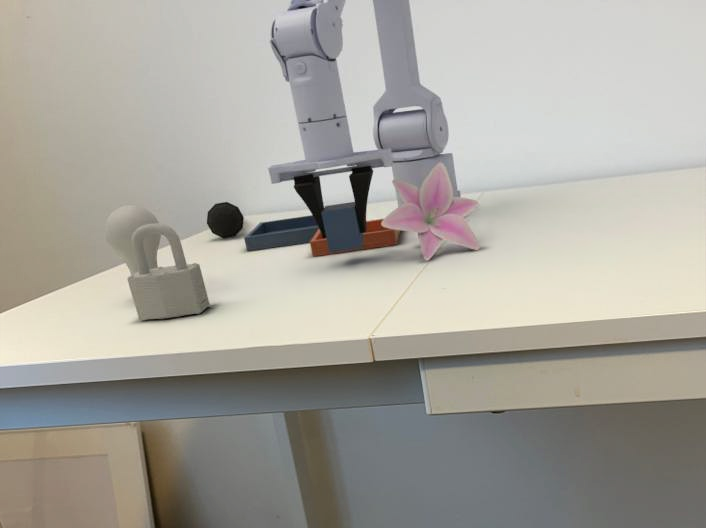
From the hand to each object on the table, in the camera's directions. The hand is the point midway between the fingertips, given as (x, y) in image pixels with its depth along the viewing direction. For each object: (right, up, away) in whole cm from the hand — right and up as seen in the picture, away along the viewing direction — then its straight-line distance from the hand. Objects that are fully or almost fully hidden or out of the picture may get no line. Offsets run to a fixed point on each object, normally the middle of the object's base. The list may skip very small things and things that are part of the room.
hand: (344, 233), depth 99 cm
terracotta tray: (0, +1, +12) cm, 11 cm away
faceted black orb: (-23, +6, +36) cm, 44 cm away
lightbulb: (-23, -8, -1) cm, 24 cm away
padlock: (-17, -11, -11) cm, 23 cm away
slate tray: (-10, +3, +22) cm, 24 cm away
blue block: (0, -2, +1) cm, 2 cm away
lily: (+11, -2, 0) cm, 12 cm away
